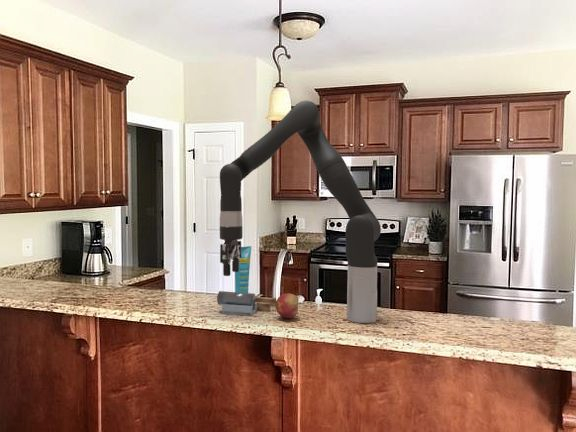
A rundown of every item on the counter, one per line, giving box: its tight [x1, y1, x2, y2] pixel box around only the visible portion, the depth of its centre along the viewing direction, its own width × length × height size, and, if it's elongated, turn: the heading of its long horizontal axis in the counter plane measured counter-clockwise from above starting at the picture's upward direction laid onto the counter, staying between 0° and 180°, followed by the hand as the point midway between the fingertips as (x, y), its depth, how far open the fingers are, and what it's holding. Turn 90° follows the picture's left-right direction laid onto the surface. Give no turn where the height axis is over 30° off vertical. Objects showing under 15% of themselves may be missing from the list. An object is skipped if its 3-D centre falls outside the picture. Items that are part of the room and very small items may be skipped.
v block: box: [221, 302, 258, 317], centre depth 156 cm, size 10×6×3 cm, turn 77°
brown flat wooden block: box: [256, 296, 277, 312], centre depth 164 cm, size 12×9×2 cm
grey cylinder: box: [216, 290, 257, 307], centre depth 156 cm, size 12×4×4 cm, turn 76°
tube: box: [234, 245, 252, 293], centre depth 183 cm, size 7×5×19 cm, turn 123°
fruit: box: [274, 293, 299, 320], centre depth 149 cm, size 8×8×8 cm
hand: (231, 273), depth 156 cm, fingers open, 8 cm apart
